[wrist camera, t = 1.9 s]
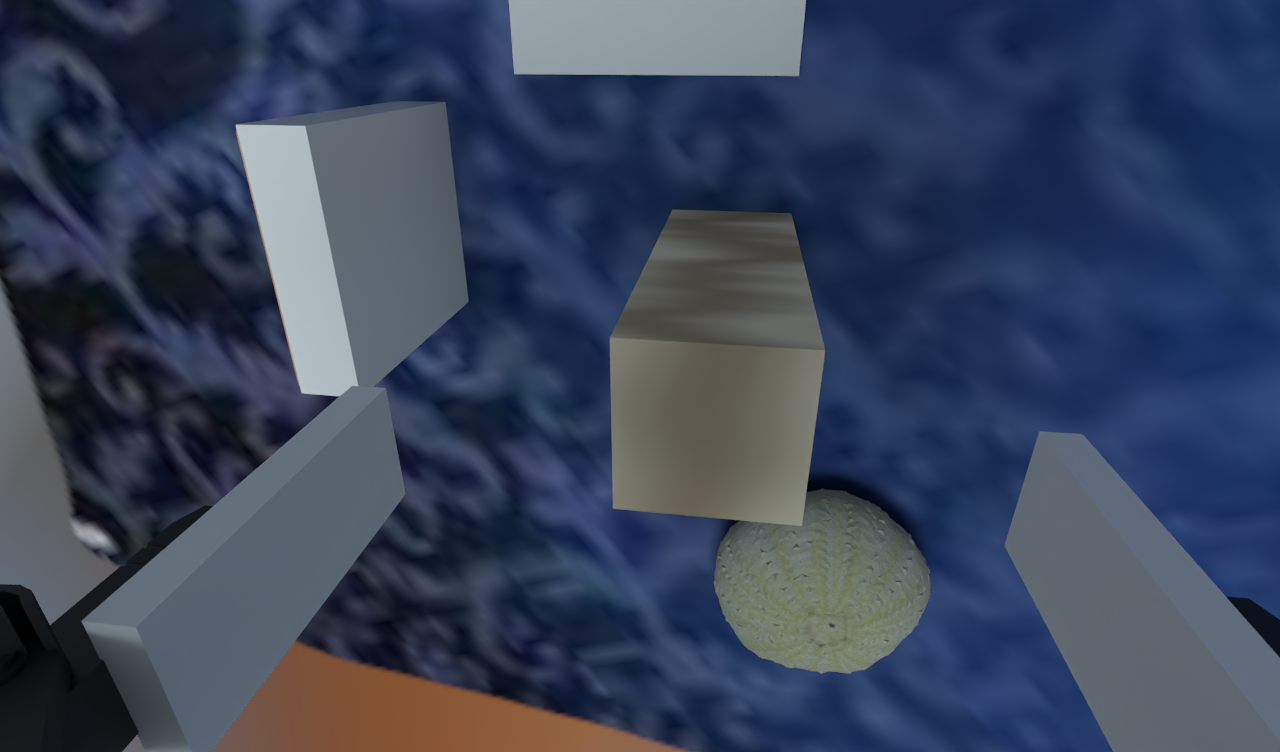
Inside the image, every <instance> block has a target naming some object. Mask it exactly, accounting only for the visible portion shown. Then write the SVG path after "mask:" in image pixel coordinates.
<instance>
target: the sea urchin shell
mask: <svg viewBox="0 0 1280 752" xmlns="http://www.w3.org/2000/svg"><path fill="white" fill-rule="evenodd" d="M929 573H930V570H929V569H928V564H926V559H925V558H924V557H923V555H922V553H921V552H920V550H919V549H918V548H917V546H916V544H915V543H914V541H913V540H912V538H911V534H909V533H907V532H906V531H905V530H904V529H903V528H902V527H901V526H900V525H899V524H897V523H896V522H894V521H893V520H892V519H891V518H890V517H889V516H888V514H887V513H886V512H884V511H882V510H881V508H880V507H879V506H876V505H875V504H872V503H870V502H869V501H868V500H867V501H865V500H863V499H861V498H859V497H856V496H854V495H851V494H849V493H847V492H846V491H841V490H840V491H836V490H825V489H823V488H822V489H820V490H816V491H811V492H806V499H805V506H804V514H803V521H802V526H795V525H784V524H774V523H763V522H752V521H741V520H740V521H739V522H737V523H736V524H734V525H733V526H731V527H730V529H729V531H728V532H727V534H726V535H725V537H724V538H723V540H722V541H720V545H719V549H718V553H717V560H716V569H715V572H714V578H715V579H714V585H715V591H716V594H717V595H718V598H719V602H720V606H721V608H722V610H723V613H722V614H723V615H724V616H725V617H726V621H728V622H729V623H730V625H731V627H732V628H733V630H734V631H735V633H736V635H737V636H738V638H739V639H740V641H741V642H742V643H743V645H744V646H746V647H747V648H748V649H749V650H751V651H753V652H754V653H756V654H757V655H758V657H761V658H766V659H768V660H772V661H774V662H775V663H781V664H783V665H784V666H786V667H787V668H789V667H790V668H793V667H796V668H801V669H806V670H810V671H818V672H819V673H821V674H822V673H824V672H827V671H831V672H840V673H848V674H850V673H851V672H853V671H858V670H865V669H866V668H868V667H869V666H871V665H872V664H874V663H875V662H876V661H878V660H879V659H881V658H883V657H884V656H887V655H890V653H891V652H893V651H894V649H895V647H896V646H898V645H899V643H900V642H901V641H902V640H903V639H904V638H905V637H906V636H907V635H908V634H909V633H911V632H912V631H913V628H914V627H915V626H918V621H919V619H920V617H921V615H922V613H923V612H924V610H925V607H926V605H927V602H928V599H929V598H930V597H931V595H930V591H932V590H931V588H930V577H929Z"/></svg>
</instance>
